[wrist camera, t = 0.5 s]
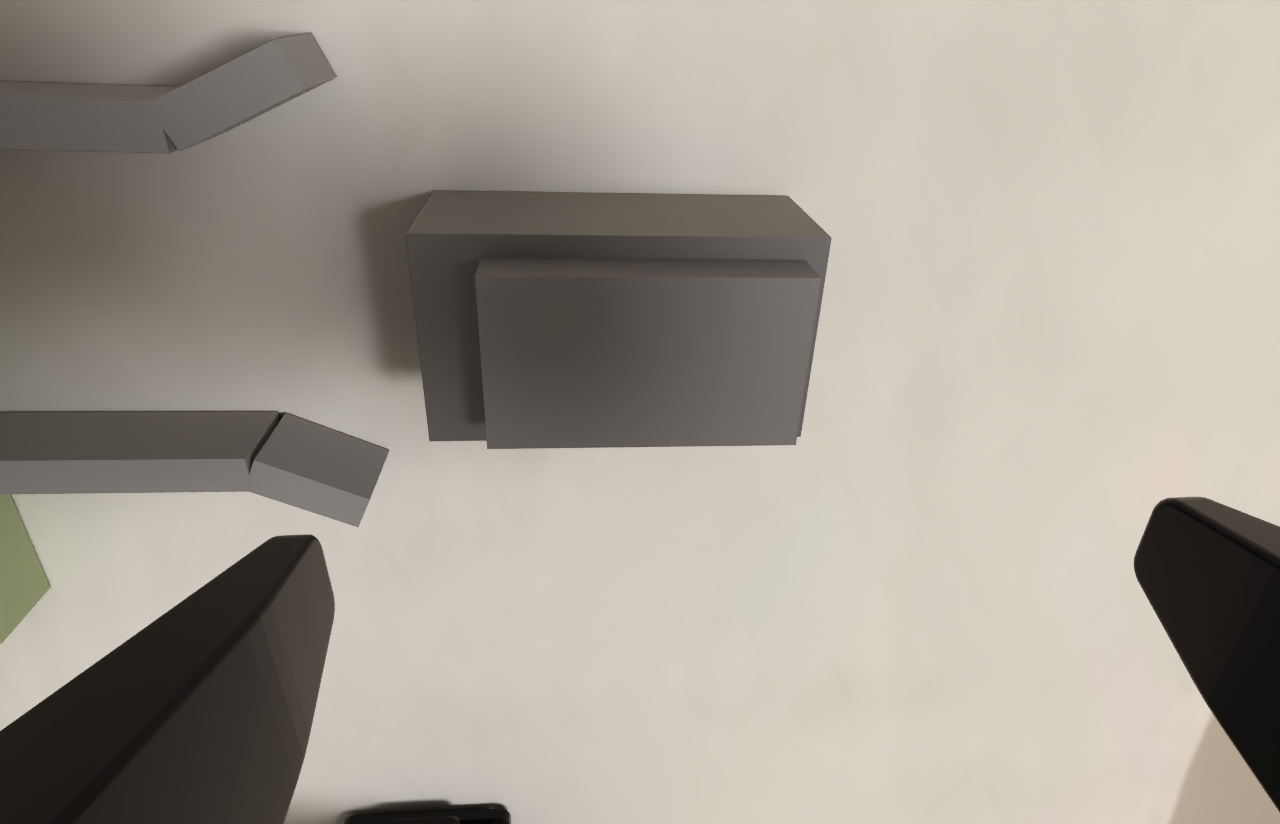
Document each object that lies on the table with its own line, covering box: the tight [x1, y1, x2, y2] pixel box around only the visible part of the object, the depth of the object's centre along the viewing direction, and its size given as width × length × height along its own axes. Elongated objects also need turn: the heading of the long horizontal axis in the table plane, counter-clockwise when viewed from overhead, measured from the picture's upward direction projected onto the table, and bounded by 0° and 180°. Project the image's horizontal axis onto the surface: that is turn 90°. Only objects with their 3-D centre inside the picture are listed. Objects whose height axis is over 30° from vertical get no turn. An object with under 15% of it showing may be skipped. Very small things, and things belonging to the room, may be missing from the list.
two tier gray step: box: [406, 190, 831, 449], centre depth 19 cm, size 5×9×5 cm, turn 88°
